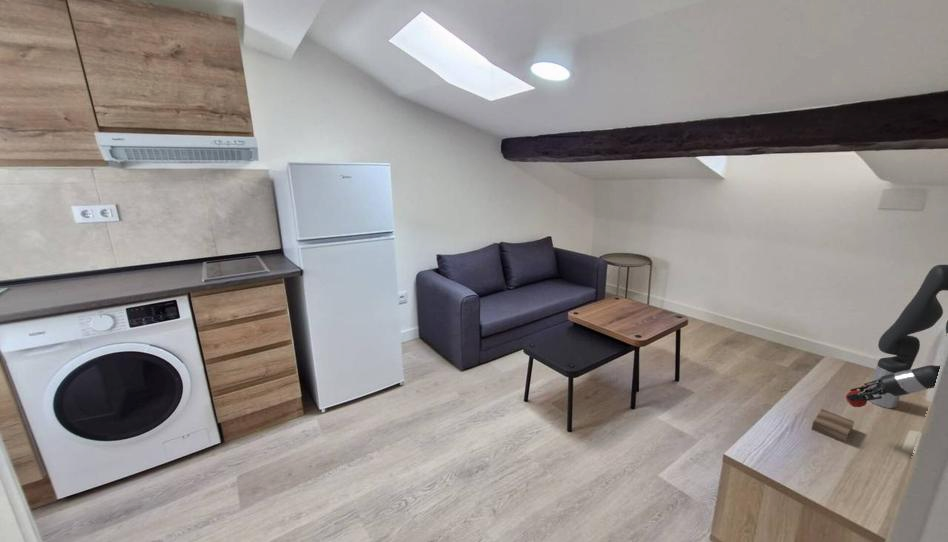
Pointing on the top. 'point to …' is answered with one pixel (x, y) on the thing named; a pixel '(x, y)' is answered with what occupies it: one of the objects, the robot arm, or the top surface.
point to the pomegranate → (858, 402)
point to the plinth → (832, 425)
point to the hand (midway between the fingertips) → (850, 395)
